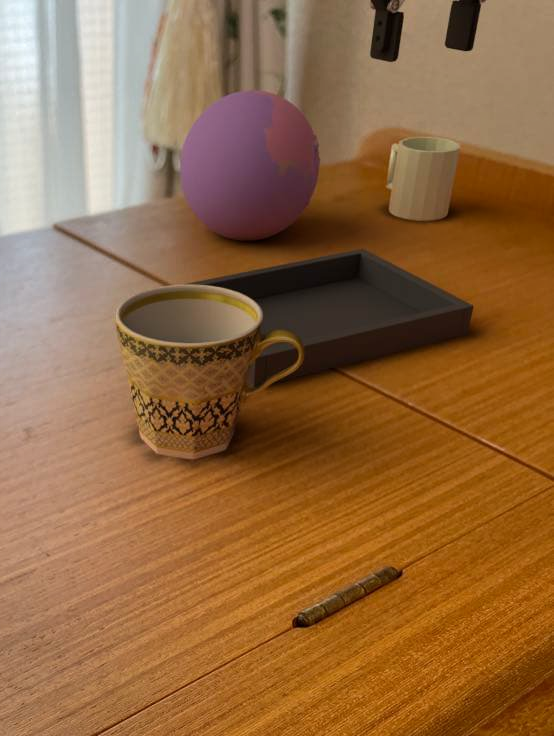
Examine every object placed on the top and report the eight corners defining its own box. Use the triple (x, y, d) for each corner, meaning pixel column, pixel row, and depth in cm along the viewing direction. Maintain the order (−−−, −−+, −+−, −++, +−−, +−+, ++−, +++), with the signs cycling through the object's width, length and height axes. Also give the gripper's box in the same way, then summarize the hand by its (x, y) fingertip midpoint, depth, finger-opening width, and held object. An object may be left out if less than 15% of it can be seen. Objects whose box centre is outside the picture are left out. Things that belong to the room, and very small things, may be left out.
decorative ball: (320, 260, 93) (337, 107, 84) (179, 261, 93) (180, 108, 84) (304, 215, 105) (317, 76, 95) (179, 216, 105) (180, 78, 96)
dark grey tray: (358, 278, 89) (362, 248, 87) (466, 338, 77) (474, 305, 76) (166, 319, 82) (165, 287, 80) (253, 392, 70) (255, 357, 68)
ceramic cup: (101, 464, 62) (94, 334, 56) (143, 398, 70) (141, 277, 63) (281, 493, 59) (294, 359, 53) (305, 421, 67) (318, 296, 60)
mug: (459, 219, 103) (473, 147, 98) (412, 228, 101) (425, 155, 96) (406, 197, 110) (418, 128, 105) (362, 205, 107) (371, 135, 103)
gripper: (412, -176, 68) (379, 70, 78) (564, -176, 74) (514, 51, 85) (349, -173, 73) (326, 58, 83) (496, -173, 79) (457, 40, 90)
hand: (421, 54), depth 84 cm, fingers open, 9 cm apart
